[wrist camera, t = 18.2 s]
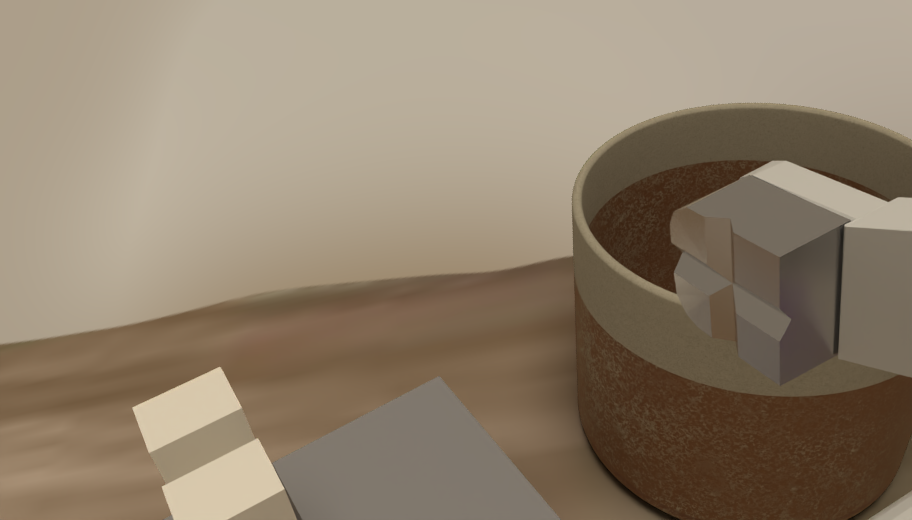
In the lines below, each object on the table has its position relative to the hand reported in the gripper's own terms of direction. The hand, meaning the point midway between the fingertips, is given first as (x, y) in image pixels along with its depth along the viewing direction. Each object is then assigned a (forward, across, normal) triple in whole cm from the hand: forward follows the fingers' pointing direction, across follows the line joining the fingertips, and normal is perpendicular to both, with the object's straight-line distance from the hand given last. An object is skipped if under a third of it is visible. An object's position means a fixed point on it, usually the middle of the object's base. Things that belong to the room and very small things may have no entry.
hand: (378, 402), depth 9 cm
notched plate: (+16, +4, +24) cm, 29 cm away
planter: (+18, -20, +26) cm, 37 cm away
